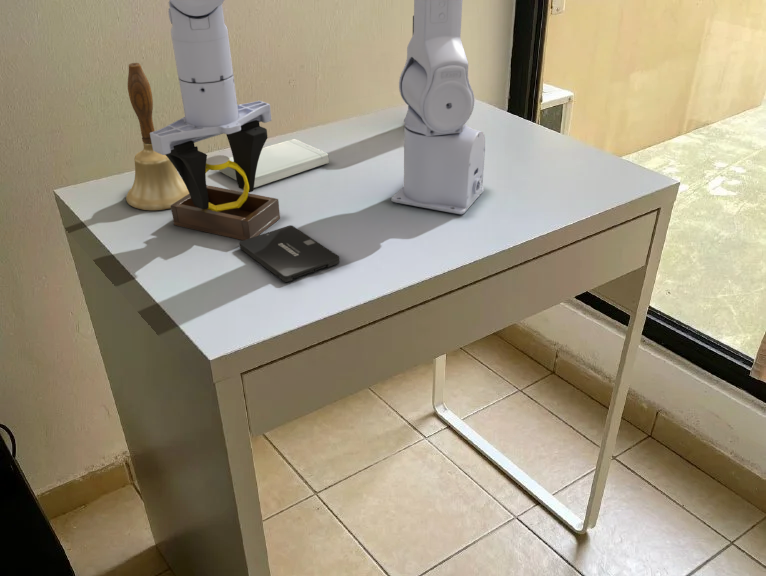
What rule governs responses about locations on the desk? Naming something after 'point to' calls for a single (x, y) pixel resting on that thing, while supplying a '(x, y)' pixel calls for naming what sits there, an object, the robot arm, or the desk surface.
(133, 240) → the desk surface
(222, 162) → the watch
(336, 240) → the desk surface
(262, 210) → the wooden tray
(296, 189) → the desk surface
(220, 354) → the desk surface
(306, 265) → the solid state drive
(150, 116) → the hand bell
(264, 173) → the hard drive
